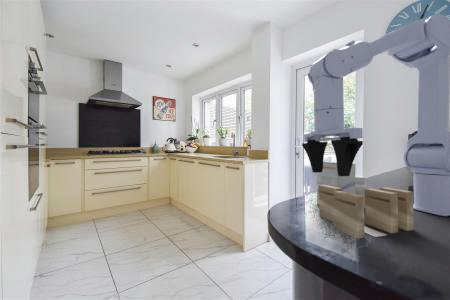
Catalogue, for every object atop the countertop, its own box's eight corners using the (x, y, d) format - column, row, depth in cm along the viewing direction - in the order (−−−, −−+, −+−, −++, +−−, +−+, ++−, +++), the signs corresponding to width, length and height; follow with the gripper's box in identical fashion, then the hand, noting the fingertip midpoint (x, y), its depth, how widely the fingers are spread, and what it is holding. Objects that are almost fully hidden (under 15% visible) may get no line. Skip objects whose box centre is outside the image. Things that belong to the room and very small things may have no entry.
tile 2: (371, 223, 42) (371, 188, 42) (398, 232, 37) (397, 193, 37) (365, 223, 41) (364, 188, 42) (391, 233, 37) (390, 193, 37)
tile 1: (386, 221, 43) (385, 187, 43) (413, 229, 38) (413, 191, 38) (380, 221, 42) (379, 187, 43) (407, 230, 38) (406, 192, 38)
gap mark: (356, 223, 42) (356, 223, 42) (386, 235, 36) (386, 234, 36) (346, 225, 41) (346, 224, 41) (375, 237, 35) (375, 236, 35)
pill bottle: (371, 208, 52) (370, 177, 52) (351, 207, 53) (351, 177, 53) (363, 203, 56) (362, 175, 56) (345, 203, 57) (345, 175, 57)
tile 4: (341, 227, 40) (340, 190, 40) (364, 237, 35) (363, 196, 35) (334, 228, 40) (333, 191, 40) (357, 238, 35) (356, 196, 35)
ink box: (316, 203, 57) (315, 161, 57) (333, 202, 58) (332, 160, 58) (338, 213, 49) (337, 162, 49) (357, 211, 50) (356, 162, 50)
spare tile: (325, 215, 47) (324, 184, 47) (342, 222, 43) (342, 188, 43) (319, 215, 47) (318, 185, 47) (336, 223, 42) (335, 188, 42)
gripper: (292, 116, 51) (293, 171, 51) (339, 102, 37) (341, 179, 37) (317, 117, 53) (318, 170, 53) (371, 104, 39) (372, 177, 39)
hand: (329, 174), depth 45 cm, fingers open, 7 cm apart
